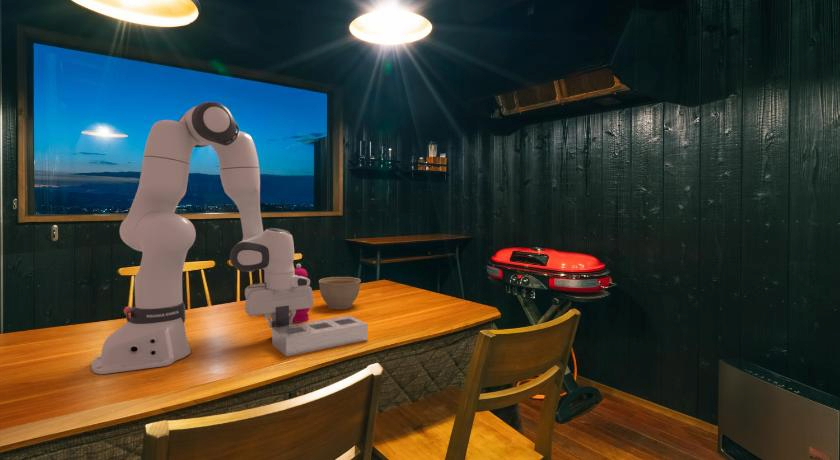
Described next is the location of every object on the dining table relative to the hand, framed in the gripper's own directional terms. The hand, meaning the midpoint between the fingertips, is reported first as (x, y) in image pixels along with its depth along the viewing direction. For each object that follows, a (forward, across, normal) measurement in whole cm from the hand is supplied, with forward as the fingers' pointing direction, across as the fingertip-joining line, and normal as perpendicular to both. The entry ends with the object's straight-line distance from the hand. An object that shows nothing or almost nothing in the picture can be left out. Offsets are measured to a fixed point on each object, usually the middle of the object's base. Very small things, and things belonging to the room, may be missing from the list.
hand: (280, 325), depth 140 cm
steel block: (+4, 0, 0) cm, 4 cm away
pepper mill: (+4, +12, +16) cm, 20 cm away
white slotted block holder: (+4, +8, -12) cm, 15 cm away
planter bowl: (+4, +32, +25) cm, 41 cm away
